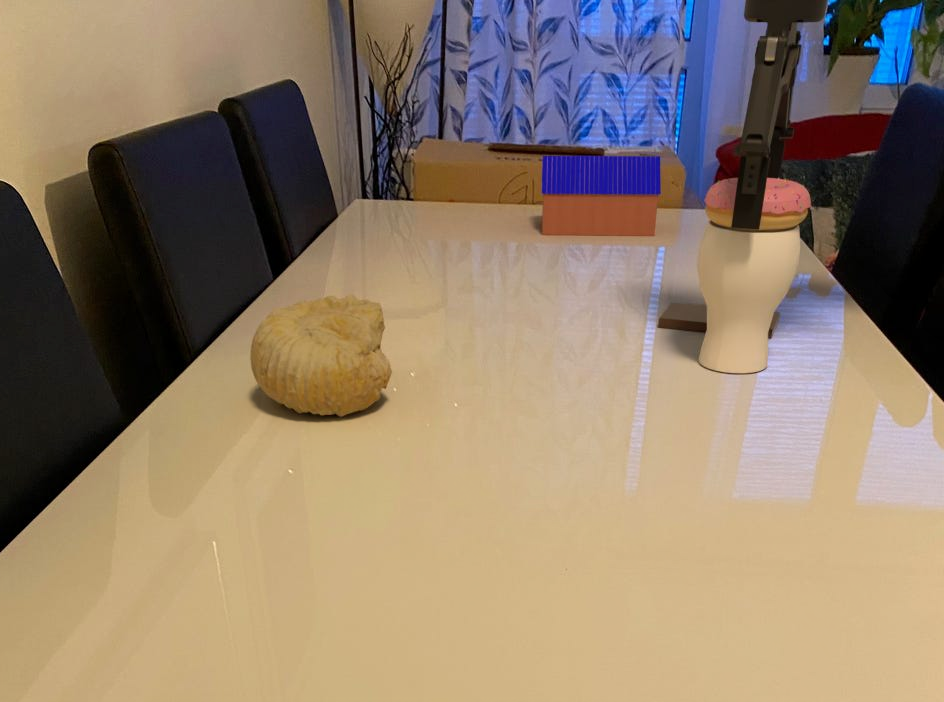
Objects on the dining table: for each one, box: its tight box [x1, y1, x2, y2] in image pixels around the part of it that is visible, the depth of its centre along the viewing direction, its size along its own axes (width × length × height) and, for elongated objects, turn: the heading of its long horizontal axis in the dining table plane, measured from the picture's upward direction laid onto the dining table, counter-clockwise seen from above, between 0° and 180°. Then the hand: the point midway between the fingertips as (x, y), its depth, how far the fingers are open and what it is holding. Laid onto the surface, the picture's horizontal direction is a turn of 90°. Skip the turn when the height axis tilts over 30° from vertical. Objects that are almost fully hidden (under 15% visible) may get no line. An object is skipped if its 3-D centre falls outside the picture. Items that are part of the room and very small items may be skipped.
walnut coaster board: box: [657, 301, 781, 340], centre depth 126 cm, size 14×8×1 cm, turn 69°
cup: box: [696, 219, 801, 374], centre depth 109 cm, size 11×11×15 cm
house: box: [541, 155, 662, 237], centre depth 172 cm, size 12×20×12 cm, turn 86°
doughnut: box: [703, 177, 812, 231], centre depth 104 cm, size 11×11×4 cm
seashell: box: [249, 294, 393, 418], centre depth 102 cm, size 17×11×15 cm
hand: (754, 216), depth 104 cm, fingers open, 13 cm apart
